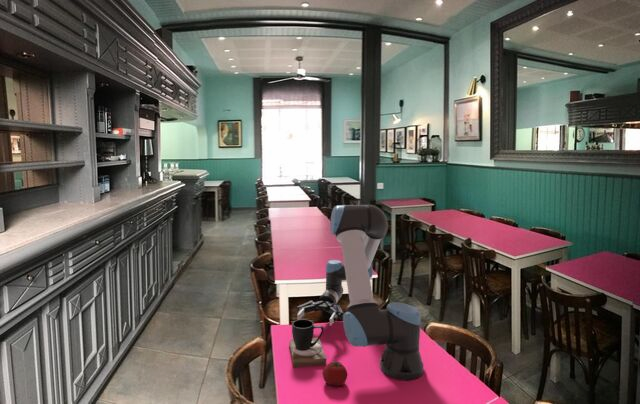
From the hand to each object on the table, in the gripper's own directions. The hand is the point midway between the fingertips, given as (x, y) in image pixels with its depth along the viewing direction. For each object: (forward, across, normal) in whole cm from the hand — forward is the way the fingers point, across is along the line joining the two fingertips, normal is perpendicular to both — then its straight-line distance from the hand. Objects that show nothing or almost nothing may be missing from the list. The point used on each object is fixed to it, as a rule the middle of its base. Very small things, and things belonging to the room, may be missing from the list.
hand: (314, 320), depth 156 cm
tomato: (+23, -15, -10) cm, 30 cm away
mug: (+9, 0, -8) cm, 12 cm away
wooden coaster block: (+9, 0, -10) cm, 14 cm away
